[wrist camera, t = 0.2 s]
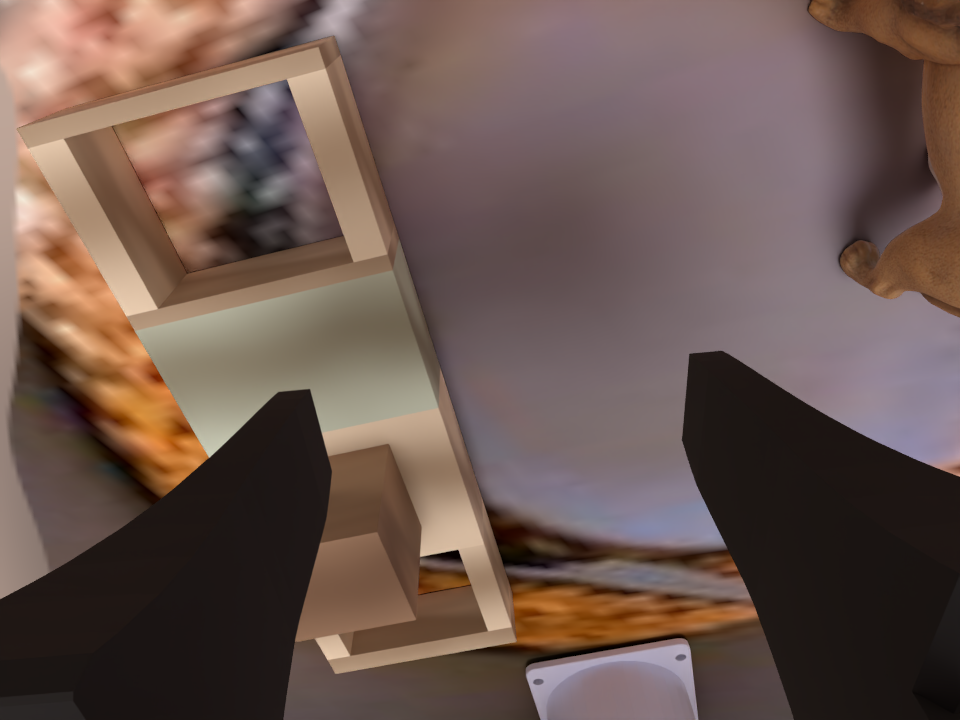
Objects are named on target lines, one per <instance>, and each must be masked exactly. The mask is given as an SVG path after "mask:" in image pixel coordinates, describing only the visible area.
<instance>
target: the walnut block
mask: <svg viewBox="0 0 960 720" xmlns="http://www.w3.org/2000/svg"><path fill="white" fill-rule="evenodd" d="M328 458H329V462H330V465H331V469H332V477H331V487H330V496H329V504H328V511H327V518H326V522H325V526H324V530H323V534H322V538H321V542H320V546H319V549H318V553H317V557H316V561H315V564H314V568H313V572H312V576H311V579H310V583H309V587H308V591H307V594H306V598H305V602H304V605H303V609H302V613H301V617H300V620H299V625H298V630H297V634H296V639H295V641H296V642H299V641H304V640H310V639H315V638H320V637H326V636H331V635H337V634H342V633H348V632H353V631H359V630H364V629H370V628H375V627H381V626H386V625H392V624H397V623H402V622H408V621H413V620H416V617H417V600H418V583H419V565H420V548H421V531H422V526H421V524H420V521H419V519H418V516H417V514H416V511H415V508H414V506H413V503H412V501H411V498H410V496H409V493H408V491H407V488H406V486H405V483H404V481H403V478H402V476H401V473H400V471H399V468H398V466H397V463H396V460H395V458H394V455H393V453H392V450H391V448H390V445H389V444H385V445H380V446H375V447H370V448H366V449H361V450H356V451H351V452H347V453H342V454H337V455H332V456H328Z"/></svg>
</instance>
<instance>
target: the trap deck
mask: <svg viewBox="0 0 960 720" xmlns="http://www.w3.org/2000/svg"><path fill="white" fill-rule="evenodd" d="M285 79H287V81H288V84H289V86H290V89H291V92H292V95H293V97H294V100H295V103H296V106H297V108H298V111H299V114H300V117H301V119H302V122H303V125H304V127H305V130H306V133H307V136H308V138H309V141H310V144H311V147H312V149H313V152H314V155H315V158H316V160H317V163H318V166H319V169H320V171H321V174H322V177H323V180H324V182H325V185H326V188H327V191H328V193H329V196H330V199H331V202H332V204H333V207H334V210H335V213H336V215H337V218H338V221H339V223H340V226H341V229H342V232H343V234H344V236H341V237H337V238H333V239H328V240H324V241H320V242H316V243H312V244H308V245H304V246H300V247H295V248H291V249H287V250H283V251H279V252H275V253H271V254H266V255H262V256H258V257H254V258H250V259H246V260H242V261H238V262H233V263H229V264H225V265H221V266H217V267H213V268H209V269H204V270H200V271H196V272H192V273H188V274H187V273H186V271H185V269H184V267H183V265H182V263H181V261H180V259H179V257H178V255H177V253H176V251H175V249H174V247H173V245H172V243H171V241H170V239H169V237H168V235H167V233H166V231H165V230H164V228H163V226H162V224H161V222H160V220H159V218H158V216H157V214H156V212H155V210H154V208H153V206H152V204H151V202H150V200H149V198H148V196H147V194H146V192H145V190H144V189H143V187H142V185H141V183H140V181H139V179H138V177H137V175H136V173H135V171H134V169H133V167H132V165H131V163H130V161H129V159H128V157H127V155H126V153H125V151H124V149H123V148H122V146H121V144H120V142H119V140H118V138H117V136H116V134H115V132H114V130H113V128H112V126H113V125H117V124H121V123H125V122H128V121H132V120H136V119H140V118H143V117H147V116H151V115H154V114H158V113H162V112H166V111H169V110H173V109H177V108H181V107H184V106H188V105H192V104H196V103H199V102H203V101H207V100H211V99H214V98H218V97H222V96H225V95H229V94H233V93H237V92H240V91H244V90H248V89H252V88H255V87H259V86H263V85H267V84H270V83H274V82H278V81H282V80H285ZM17 131H18V132H19V134H20V136H21V137H22V139H23V141H24V143H25V144H26V146H27V148H28V149H29V151H30V153H31V155H32V156H33V158H34V160H35V161H36V163H37V165H38V166H39V168H40V170H41V172H42V173H43V175H44V177H45V178H46V180H47V182H48V184H49V185H50V187H51V189H52V190H53V192H54V194H55V195H56V197H57V199H58V201H59V202H60V204H61V206H62V207H63V209H64V211H65V213H66V214H67V216H68V218H69V219H70V221H71V223H72V224H73V226H74V228H75V230H76V231H77V233H78V235H79V236H80V238H81V240H82V242H83V243H84V245H85V247H86V248H87V250H88V252H89V253H90V255H91V257H92V259H93V260H94V262H95V264H96V265H97V267H98V269H99V271H100V272H101V274H102V276H103V277H104V279H105V281H106V283H107V284H108V286H109V288H110V289H111V291H112V293H113V294H114V296H115V298H116V300H117V301H118V303H119V305H120V306H121V308H122V310H123V312H124V313H125V315H126V317H127V318H128V320H129V322H130V323H131V325H132V327H133V329H134V330H135V332H136V334H137V335H138V337H139V339H140V341H141V342H142V344H143V346H144V347H145V349H146V351H147V352H148V354H149V356H150V358H151V359H152V361H153V363H154V364H155V366H156V368H157V370H158V371H159V373H160V375H161V376H162V378H163V380H164V381H165V383H166V385H167V387H168V388H169V390H170V392H171V393H172V395H173V397H174V399H175V400H176V402H177V404H178V405H179V407H180V409H181V410H182V412H183V414H184V416H185V417H186V419H187V421H188V422H189V424H190V426H191V428H192V429H193V431H194V433H195V434H196V436H197V438H198V439H199V441H200V443H201V445H202V446H203V448H204V450H205V451H206V453H207V455H208V457H209V458H210V457H211V456H212V455H213V454H214V453H215V452H216V451H217V450H218V449H219V448H220V447H221V446H222V445H223V444H224V443H226V442H227V441H228V440H229V439H230V438H231V437H232V436H233V435H234V434H235V433H236V432H237V431H238V430H239V429H240V428H241V427H242V426H243V425H244V424H245V423H246V422H247V421H248V420H249V419H250V418H251V417H252V416H253V415H254V414H255V413H256V412H257V411H258V410H259V409H260V408H261V407H262V406H263V405H264V404H266V403H267V402H268V401H269V400H270V399H271V398H272V397H273V396H274V395H275V394H277V393H278V392H281V391H292V390H303V389H310V391H311V394H312V398H313V402H314V406H315V409H316V413H317V417H318V420H319V424H320V428H321V432H322V435H323V439H324V443H325V447H326V450H327V454H328V456H332V455H337V454H342V453H347V452H351V451H356V450H361V449H366V448H370V447H375V446H380V445H385V444H389V445H390V448H391V450H392V453H393V455H394V458H395V460H396V463H397V466H398V468H399V471H400V473H401V476H402V478H403V481H404V483H405V486H406V488H407V491H408V493H409V496H410V498H411V501H412V503H413V506H414V508H415V511H416V514H417V516H418V519H419V521H420V524H421V526H422V531H421V548H420V557H422V556H427V555H432V554H437V553H443V552H448V551H453V550H459V553H460V555H461V558H462V561H463V564H464V566H465V569H466V572H467V575H468V577H469V580H470V583H471V586H466V587H460V588H455V589H450V590H444V591H439V592H434V593H428V594H423V595H418V600H417V617H416V620H413V621H408V622H402V623H397V624H392V625H386V626H381V627H375V628H370V629H364V630H359V631H353V632H348V633H342V634H337V635H331V636H326V637H320V638H315V639H316V641H317V643H318V644H319V646H320V648H321V649H322V651H323V653H324V655H325V656H326V658H327V660H328V661H329V663H330V665H331V666H332V668H333V670H334V672H335V673H336V674H338V673H343V672H349V671H355V670H360V669H366V668H372V667H377V666H383V665H389V664H394V663H400V662H405V661H411V660H417V659H422V658H428V657H434V656H439V655H445V654H451V653H456V652H462V651H468V650H473V649H479V648H485V647H490V646H496V645H501V644H507V643H513V642H517V641H516V629H515V618H514V607H513V596H512V591H511V588H510V584H509V581H508V578H507V575H506V572H505V569H504V566H503V562H502V559H501V556H500V553H499V550H498V547H497V544H496V541H495V537H494V534H493V531H492V528H491V525H490V522H489V519H488V515H487V512H486V509H485V506H484V503H483V500H482V497H481V494H480V490H479V487H478V484H477V481H476V478H475V475H474V472H473V469H472V465H471V462H470V459H469V456H468V453H467V450H466V447H465V443H464V440H463V437H462V434H461V431H460V428H459V425H458V422H457V418H456V415H455V412H454V409H453V406H452V403H451V400H450V396H449V393H448V390H447V387H446V384H445V381H444V378H443V375H442V371H441V368H440V365H439V362H438V359H437V356H436V353H435V349H434V346H433V343H432V340H431V337H430V334H429V331H428V328H427V324H426V321H425V318H424V315H423V312H422V309H421V306H420V302H419V299H418V296H417V293H416V290H415V287H414V284H413V281H412V277H411V274H410V271H409V268H408V265H407V262H406V259H405V255H404V252H403V249H402V246H401V243H400V240H399V237H398V234H397V230H396V227H395V224H394V221H393V218H392V215H391V212H390V208H389V205H388V202H387V199H386V196H385V193H384V190H383V187H382V183H381V180H380V177H379V174H378V171H377V168H376V165H375V161H374V158H373V155H372V152H371V149H370V146H369V143H368V140H367V136H366V133H365V130H364V127H363V124H362V121H361V118H360V114H359V111H358V108H357V105H356V102H355V99H354V96H353V93H352V89H351V86H350V83H349V80H348V77H347V74H346V71H345V67H344V64H343V61H342V58H341V55H340V52H339V49H338V46H337V42H336V39H335V36H331V37H327V38H323V39H320V40H316V41H312V42H309V43H305V44H301V45H298V46H294V47H290V48H287V49H283V50H279V51H276V52H272V53H268V54H264V55H261V56H257V57H253V58H250V59H246V60H242V61H239V62H235V63H231V64H228V65H224V66H220V67H217V68H213V69H209V70H206V71H202V72H198V73H195V74H191V75H187V76H184V77H180V78H176V79H173V80H169V81H165V82H162V83H158V84H154V85H151V86H147V87H143V88H140V89H136V90H132V91H129V92H125V93H121V94H117V95H114V96H110V97H106V98H103V99H99V100H95V101H92V102H88V103H84V104H81V105H77V106H73V107H70V108H66V109H63V110H61V111H59V112H56V113H54V114H51V115H49V116H46V117H44V118H41V119H39V120H37V121H34V122H32V123H29V124H27V125H24V126H22V127H19V128H17Z"/></svg>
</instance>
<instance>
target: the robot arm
mask: <svg viewBox="0 0 960 720" xmlns="http://www.w3.org/2000/svg"><path fill="white" fill-rule="evenodd" d="M682 441H683V445H684V448H685V451H686V454H687V457H688V461H689V464H690V467H691V470H692V473H693V476H694V479H695V482H696V484H697V487H698V489H699V491H700V493H701V495H702V497H703V499H704V501H705V503H706V506H707V508H708V510H709V512H710V514H711V516H712V518H713V520H714V522H715V524H716V526H717V528H718V530H719V532H720V534H721V536H722V538H723V540H724V542H725V544H726V546H727V548H728V550H729V552H730V554H731V556H732V558H733V560H734V562H735V564H736V566H737V568H738V571H739V573H740V575H741V577H742V579H743V581H744V583H745V585H746V587H747V590H748V592H749V594H750V596H751V599H752V601H753V603H754V606H755V608H756V611H757V614H758V617H759V619H760V622H761V625H762V628H763V630H764V633H765V636H766V639H767V641H768V644H769V647H770V650H771V652H772V655H773V658H774V661H775V664H776V667H777V670H778V673H779V676H780V679H781V681H782V684H783V687H784V690H785V693H786V696H787V699H788V702H789V705H790V708H791V711H792V714H793V717H794V720H960V477H959V476H956V475H953V474H951V473H948V472H945V471H943V470H940V469H937V468H935V467H933V466H930V465H928V464H925V463H923V462H920V461H918V460H916V459H913V458H911V457H909V456H907V455H904V454H902V453H900V452H898V451H896V450H893V449H891V448H889V447H887V446H885V445H882V444H880V443H878V442H876V441H874V440H872V439H870V438H868V437H866V436H864V435H862V434H860V433H858V432H856V431H854V430H852V429H851V428H849V427H847V426H845V425H843V424H841V423H840V422H838V421H836V420H834V419H832V418H830V417H829V416H827V415H825V414H823V413H822V412H820V411H818V410H816V409H815V408H813V407H811V406H810V405H808V404H806V403H805V402H803V401H801V400H800V399H798V398H796V397H795V396H793V395H792V394H790V393H788V392H787V391H785V390H784V389H782V388H781V387H779V386H777V385H776V384H774V383H773V382H771V381H770V380H768V379H767V378H765V377H763V376H762V375H760V374H759V373H757V372H756V371H754V370H753V369H751V368H750V367H748V366H746V365H745V364H743V363H742V362H740V361H739V360H737V359H735V358H734V357H732V356H730V355H729V354H727V353H725V352H723V351H715V352H704V353H693V354H689V366H688V377H687V389H686V401H685V412H684V424H683V436H682ZM331 477H332V469H331V465H330V462H329V458H328V454H327V450H326V447H325V443H324V439H323V435H322V432H321V428H320V424H319V420H318V417H317V413H316V409H315V406H314V402H313V398H312V394H311V391H310V389H303V390H292V391H281V392H278V393H277V394H275V395H274V396H273V397H272V398H271V399H270V400H269V401H268V402H267V403H266V404H264V405H263V406H262V407H261V408H260V409H259V410H258V411H257V412H256V413H255V414H254V415H253V416H252V417H251V418H250V419H249V420H248V421H247V422H246V423H245V424H244V425H243V426H242V427H241V428H240V429H239V430H238V431H237V432H236V433H235V434H234V435H233V436H232V437H231V438H230V439H229V440H228V441H227V442H226V443H224V444H223V445H222V446H221V447H220V448H219V449H218V450H217V451H216V452H215V453H214V454H213V455H212V456H211V457H210V458H208V459H207V460H206V461H205V462H204V463H203V464H202V465H200V466H199V467H198V468H197V469H196V470H195V471H194V472H192V473H191V474H190V475H189V476H188V477H187V478H186V479H184V480H183V481H182V482H181V483H180V484H179V485H178V486H176V487H175V488H174V489H173V490H172V491H170V492H169V493H168V494H167V495H165V496H164V497H163V498H162V499H160V500H159V501H158V502H156V503H155V504H154V505H153V506H151V507H150V508H149V509H147V510H146V511H144V512H143V513H142V514H140V515H139V516H138V517H136V518H135V519H133V520H132V521H131V522H129V523H128V524H127V525H125V526H124V527H122V528H121V529H119V530H118V531H116V532H115V533H113V534H112V535H110V536H108V537H107V538H105V539H104V540H102V541H101V542H99V543H97V544H96V545H94V546H93V547H91V548H90V549H88V550H86V551H85V552H83V553H82V554H80V555H79V556H77V557H75V558H74V559H72V560H71V561H69V562H67V563H66V564H64V565H62V566H61V567H59V568H57V569H55V570H54V571H52V572H50V573H48V574H46V575H45V576H43V577H41V578H39V579H38V580H36V581H34V582H32V583H30V584H29V585H26V586H25V587H23V588H21V589H19V590H17V591H15V592H13V593H11V594H10V595H8V596H6V597H4V598H2V599H0V720H283V717H284V710H285V702H286V695H287V688H288V682H289V675H290V669H291V662H292V656H293V649H294V643H295V639H296V634H297V630H298V625H299V620H300V617H301V613H302V609H303V605H304V602H305V598H306V594H307V591H308V587H309V583H310V579H311V576H312V572H313V568H314V564H315V561H316V557H317V553H318V549H319V546H320V542H321V538H322V534H323V530H324V526H325V522H326V518H327V511H328V504H329V496H330V487H331ZM526 677H527V680H528V683H529V686H530V689H531V692H532V695H533V698H534V701H535V704H536V707H537V710H538V713H539V716H540V719H541V720H698V713H697V704H696V695H695V686H694V678H693V669H692V660H691V652H690V647H689V644H688V641H687V640H685V639H682V638H676V639H670V640H664V641H658V642H653V643H647V644H641V645H635V646H630V647H624V648H618V649H612V650H607V651H601V652H595V653H589V654H584V655H578V656H572V657H566V658H561V659H555V660H549V661H543V662H538V663H533V664H530V665H529V666H527V668H526Z"/></svg>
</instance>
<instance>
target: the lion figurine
mask: <svg viewBox="0 0 960 720" xmlns="http://www.w3.org/2000/svg"><path fill="white" fill-rule="evenodd" d="M809 13H810V14H811V15H812V16H813V17H814V18H815V19H816V20H818V21H819V22H821V23H823V24H824V25H826V26H828V27H830V28H832V29H834V30H836V31H843V32H855V33H864V34H866V35H869V36H871V37H873V38H874V39H875V40H877V41H878V42H880V43H883V44H886V45H888V46H890V47H892V48H894V49H896V50H898V51H899V52H900V53H901V54H902V55H904V56H906V57H907V58H910V59H913V60H919V59H924V68H923V81H922V115H923V125H924V132H925V139H926V146H927V151H928V164H929V168H930V171H931V173H932V174H933V176H934V178H935V179H936V181H937V183H938V186H939V188H940V190H941V193H942V195H943V200H942V204H941V207H940V209H939V210H938V212H936V213H935V214H933V215H932V216H931V217H929V218H927V219H926V220H924V221H922V222H920V223H918V224H916V225H914V226H912V227H911V228H909V229H907V230H906V231H904V232H903V233H901V234H900V235H898V236H897V237H896V238H894V239H893V240H892V241H891V242H890V243H889V244H888V245H887V247H886V248H885V250H884V252H883V253H882V255H881V257H880V254H879V250H878V248H877V247H876V245H875V244H873V243H871V242H866V241H862V240H860V241H856V242H855V243H854V244H853V245H850V246H848V247H847V248H846V249H845V250H844V252H843V253H842V255H841V258H840V264H841V267H842V269H843V271H844V272H845V273H846V274H847V275H848V276H849V277H851V278H852V279H853V280H855V281H856V282H858V283H859V284H861V285H862V286H864V287H866V288H868V289H869V290H870V291H872V292H873V293H874V294H876V295H878V296H881V297H884V298H887V299H894V298H897V297H899V296H900V295H901V294H902V293H903V292H904V291H917V292H920V293H921V294H922V295H923V297H924V298H925V299H927V300H928V301H929V302H930V303H931V304H933V305H935V306H937V307H939V308H941V309H942V310H944V311H946V312H948V313H950V314H952V315H955V316H957V317H960V0H812V2H811V4H810V6H809Z"/></svg>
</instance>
